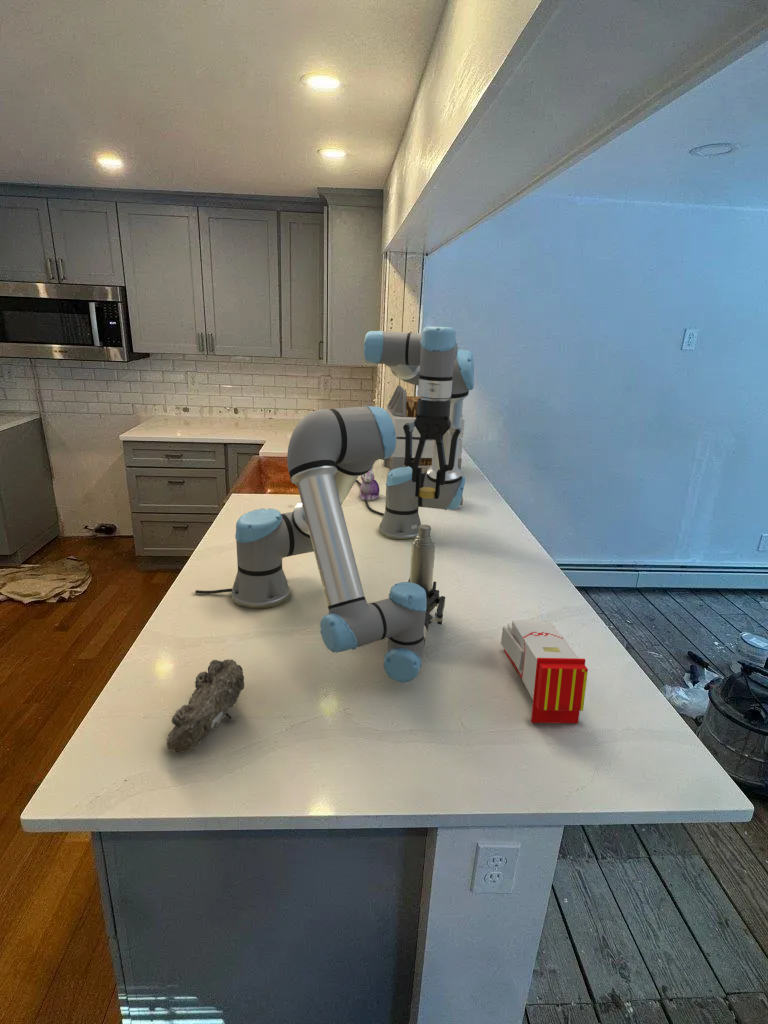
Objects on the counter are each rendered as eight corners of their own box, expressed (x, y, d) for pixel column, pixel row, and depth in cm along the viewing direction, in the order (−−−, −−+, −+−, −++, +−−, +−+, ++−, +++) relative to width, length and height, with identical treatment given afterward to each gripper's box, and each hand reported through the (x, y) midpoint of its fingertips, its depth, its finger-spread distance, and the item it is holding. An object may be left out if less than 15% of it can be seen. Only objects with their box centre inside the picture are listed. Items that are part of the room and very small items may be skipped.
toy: (547, 606, 135) (596, 665, 106) (541, 658, 138) (589, 729, 108) (496, 604, 134) (532, 664, 105) (492, 657, 137) (526, 729, 108)
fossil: (192, 660, 117) (244, 628, 112) (224, 691, 120) (276, 661, 115) (142, 746, 98) (202, 712, 93) (182, 779, 101) (242, 748, 96)
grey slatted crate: (382, 463, 289) (386, 382, 275) (445, 464, 293) (451, 384, 279) (390, 482, 257) (394, 392, 243) (460, 483, 261) (468, 394, 247)
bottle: (406, 620, 145) (411, 529, 136) (408, 609, 150) (414, 521, 142) (428, 622, 144) (435, 531, 136) (430, 611, 149) (437, 523, 141)
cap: (437, 498, 135) (437, 492, 134) (419, 498, 134) (420, 492, 134) (434, 493, 139) (435, 487, 138) (417, 492, 138) (417, 486, 138)
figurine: (364, 502, 230) (365, 466, 225) (353, 495, 238) (354, 460, 233) (384, 500, 234) (386, 464, 229) (373, 492, 242) (375, 458, 237)
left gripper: (369, 639, 131) (386, 593, 153) (450, 650, 128) (456, 601, 150) (370, 610, 128) (388, 567, 150) (453, 621, 126) (459, 576, 147)
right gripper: (393, 397, 127) (389, 496, 135) (470, 403, 123) (461, 505, 131) (400, 393, 133) (395, 487, 142) (473, 398, 130) (464, 495, 138)
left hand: (422, 584), depth 150 cm, fingers closed on bottle, 6 cm apart
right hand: (427, 495), depth 136 cm, fingers closed on cap, 4 cm apart
